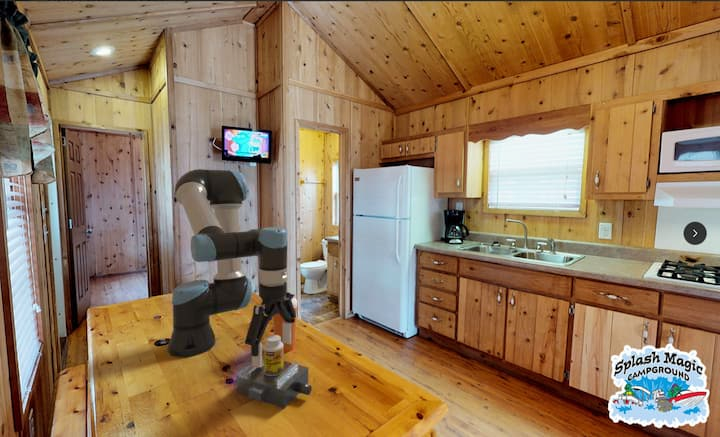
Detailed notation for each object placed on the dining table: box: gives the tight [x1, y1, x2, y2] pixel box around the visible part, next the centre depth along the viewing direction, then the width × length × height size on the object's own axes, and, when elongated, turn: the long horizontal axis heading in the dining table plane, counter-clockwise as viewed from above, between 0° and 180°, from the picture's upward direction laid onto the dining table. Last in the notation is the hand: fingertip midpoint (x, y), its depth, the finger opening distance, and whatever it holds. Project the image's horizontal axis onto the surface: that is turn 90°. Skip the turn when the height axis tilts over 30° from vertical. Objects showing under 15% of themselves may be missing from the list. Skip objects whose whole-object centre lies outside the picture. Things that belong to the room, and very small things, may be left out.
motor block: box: [236, 356, 313, 409], centre depth 90 cm, size 20×14×6 cm
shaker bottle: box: [272, 293, 298, 353], centre depth 115 cm, size 9×9×20 cm
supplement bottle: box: [263, 334, 284, 376], centre depth 91 cm, size 6×6×10 cm
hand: (272, 353), depth 91 cm, fingers open, 13 cm apart
